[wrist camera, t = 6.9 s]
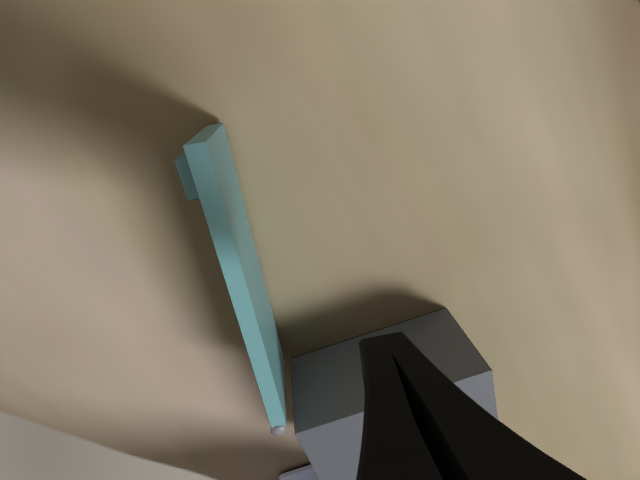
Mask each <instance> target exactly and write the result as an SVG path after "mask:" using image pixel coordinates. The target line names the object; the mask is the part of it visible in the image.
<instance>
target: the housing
mask: <svg viewBox="0 0 640 480" xmlns="http://www.w3.org/2000/svg"><path fill="white" fill-rule="evenodd" d="M396 332H403V333H404V334H405V335H406V336H407V337H408V338H409V339H410V340H411V341H412V342H413V344H414V345H415V346H416V347H417V348H418V349H419V350H420V351H421V352H422V353H423V354H424V355H425V356H426V357H427V358H428V359H429V360H430V361H431V362H432V363H433V364H434V365H435V366H436V367H437V368H438V369H439V370H440V371H441V372H442V373H443V374H445V375H446V376H447V377H448V378H449V379H450V380H451V381H452V382H453V383H454V384H455V385H456V386H458V387H459V388H460V389H461V390H462V391H463V392H464V393H466V394H467V395H468V396H469V397H470V398H471V399H473V400H474V401H475V402H476V403H477V404H479V405H480V406H481V407H482V408H484V409H485V410H486V411H487V412H489V413H490V414H491V415H492V416H494V417H495V418H496V419H497V420H498V416H497V407H496V399H495V391H494V383H493V374H492V369H491V368H490V367H489V365H488V364H487V363H486V361H485V360H484V359H483V357H482V356H481V354H480V353H479V352H478V350H477V349H476V348H475V346H474V345H473V344H472V342H471V341H470V339H469V338H468V337H467V335H466V334H465V333H464V331H463V330H462V329H461V327H460V326H459V324H458V323H457V322H456V320H455V319H454V318H453V316H452V315H451V313H450V312H449V311H448V309H447V308H444V309H441V310H438V311H435V312H432V313H429V314H426V315H423V316H420V317H417V318H414V319H411V320H408V321H404V322H401V323H398V324H395V325H392V326H389V327H386V328H383V329H380V330H377V331H374V332H371V333H368V334H365V335H362V336H359V337H356V338H353V339H350V340H347V341H344V342H341V343H338V344H335V345H332V346H329V347H326V348H322V349H319V350H316V351H313V352H310V353H307V354H304V355H301V356H298V357H295V358H292V359H290V364H291V380H292V396H293V412H294V428H295V435H296V437H297V439H298V441H299V442H300V444H301V446H302V448H303V450H304V452H305V453H306V455H307V457H308V459H309V461H310V463H311V464H312V466H313V468H314V470H315V472H316V474H317V476H318V477H319V479H320V480H356V477H357V471H358V464H359V457H360V450H361V441H362V432H363V418H364V401H365V389H364V385H363V376H362V368H361V359H360V350H359V342H360V341H361V340H362V339H365V338H370V337H375V336H380V335H385V334H391V333H396Z"/></svg>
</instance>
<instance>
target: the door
mask: <svg viewBox="0 0 640 480" xmlns="http://www.w3.org/2000/svg"><path fill="white" fill-rule="evenodd" d="M183 148H184V151H183V152H182V153H181V154H179V155H178V156H177V157H176V158H175V159H174V162H175V165H176V168H177V171H178V174H179V177H180V180H181V183H182V186H183V189H184V192H185V195H186V198H187V201H189V200H195V199H200V202H201V205H202V208H203V211H204V215H205V218H206V221H207V224H208V227H209V231H210V234H211V237H212V240H213V243H214V246H215V250H216V253H217V256H218V259H219V262H220V266H221V269H222V272H223V275H224V278H225V281H226V285H227V288H228V291H229V294H230V297H231V301H232V304H233V307H234V310H235V313H236V316H237V320H238V323H239V326H240V329H241V332H242V336H243V339H244V342H245V345H246V348H247V351H248V355H249V358H250V361H251V364H252V367H253V371H254V374H255V377H256V380H257V383H258V386H259V390H260V393H261V396H262V399H263V402H264V406H265V409H266V412H267V415H268V418H269V421H270V425H271V433H272V434H273V435H275V436H280V435H283V434H284V433H285V432H286V401H285V376H284V356H283V353H282V349H281V345H280V341H279V337H278V333H277V329H276V325H275V321H274V317H273V314H272V310H271V306H270V302H269V298H268V294H267V290H266V286H265V282H264V278H263V275H262V271H261V267H260V263H259V259H258V255H257V251H256V247H255V243H254V240H253V236H252V232H251V228H250V224H249V220H248V216H247V212H246V208H245V204H244V201H243V197H242V193H241V189H240V185H239V181H238V177H237V173H236V169H235V165H234V162H233V158H232V154H231V150H230V146H229V142H228V138H227V134H226V130H225V126H224V123H218V124H213V125H207V126H205V127H204V128H203V129H202V130H201V131H200V132H198V133H197V134H196V135H195V136H194V137H193V138H191V139H190V140H189V141H188V142H187V143H185V144H184V145H183Z"/></svg>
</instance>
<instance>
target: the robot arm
mask: <svg viewBox="0 0 640 480" xmlns="http://www.w3.org/2000/svg"><path fill="white" fill-rule="evenodd" d="M359 350H360V359H361V368H362V376H363V385H364V389H365V401H364V418H363V432H362V441H361V450H360V457H359V464H358V471H357V477H356V480H587V479H585V478H583V477H582V476H580V475H579V474H577V473H575V472H574V471H572V470H571V469H569V468H568V467H566V466H564V465H563V464H561V463H560V462H558V461H556V460H555V459H553V458H552V457H550V456H548V455H547V454H545V453H544V452H542V451H541V450H539V449H538V448H536V447H535V446H534V445H532V444H531V443H529V442H528V441H526V440H525V439H523V438H522V437H521V436H519V435H518V434H516V433H515V432H514V431H512V430H511V429H510V428H508V427H507V426H505V425H504V424H503V423H501V422H500V421H499V420H497V419H496V418H495V417H494V416H492V415H491V414H490V413H489V412H487V411H486V410H485V409H484V408H482V407H481V406H480V405H479V404H477V403H476V402H475V401H474V400H473V399H471V398H470V397H469V396H468V395H467V394H466V393H464V392H463V391H462V390H461V389H460V388H459V387H458V386H456V385H455V384H454V383H453V382H452V381H451V380H450V379H449V378H448V377H447V376H446V375H445V374H443V373H442V372H441V371H440V370H439V369H438V368H437V367H436V366H435V365H434V364H433V363H432V362H431V361H430V360H429V359H428V358H427V357H426V356H425V355H424V354H423V353H422V352H421V351H420V350H419V349H418V348H417V347H416V346H415V345H414V344H413V342H412V341H411V340H410V339H409V338H408V337H407V336H406V335H405V334H404V333H403V332H396V333H391V334H385V335H380V336H375V337H370V338H365V339H362V340H361V341H360V342H359ZM279 480H320V479H319V477H318V476H317V474H316V472H315V470H314V468H313V466H312V464H311V465H308V466H305V467H301V468H298V469H295V470H292V471H289V472H286V473H283V474H281V475H280V476H279Z"/></svg>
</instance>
